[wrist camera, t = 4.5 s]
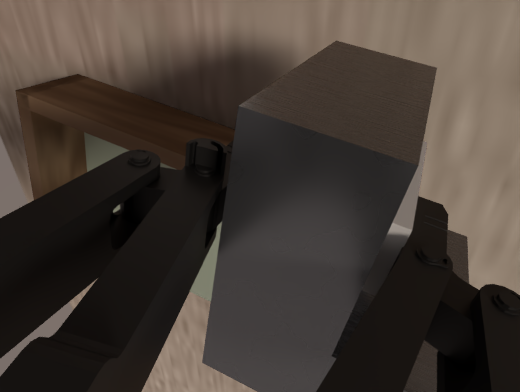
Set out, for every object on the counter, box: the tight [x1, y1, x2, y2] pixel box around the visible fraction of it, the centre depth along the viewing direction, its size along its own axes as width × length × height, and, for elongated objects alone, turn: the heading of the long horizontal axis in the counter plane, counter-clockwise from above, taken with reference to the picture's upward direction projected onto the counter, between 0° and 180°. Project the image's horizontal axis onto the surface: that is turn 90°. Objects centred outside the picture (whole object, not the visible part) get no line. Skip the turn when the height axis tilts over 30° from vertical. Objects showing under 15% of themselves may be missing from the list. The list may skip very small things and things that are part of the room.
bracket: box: [202, 41, 469, 392], centre depth 14 cm, size 10×8×9 cm
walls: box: [16, 74, 235, 200], centre depth 34 cm, size 18×20×6 cm
